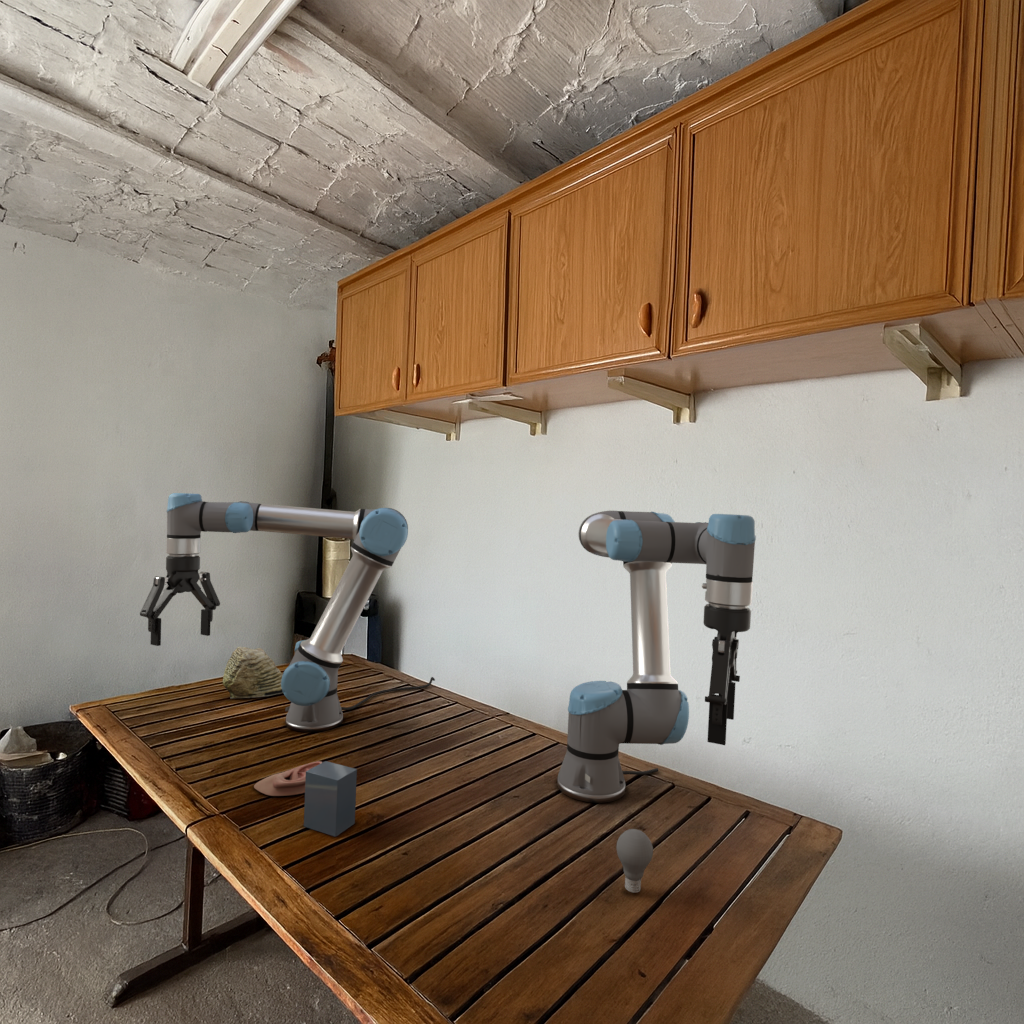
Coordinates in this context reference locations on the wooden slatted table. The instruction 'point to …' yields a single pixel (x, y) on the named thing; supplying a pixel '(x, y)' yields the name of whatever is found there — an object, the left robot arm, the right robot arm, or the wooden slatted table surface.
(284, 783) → the anatomical model
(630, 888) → the light bulb
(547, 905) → the wooden slatted table surface
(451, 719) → the wooden slatted table surface
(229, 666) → the fossil
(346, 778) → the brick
